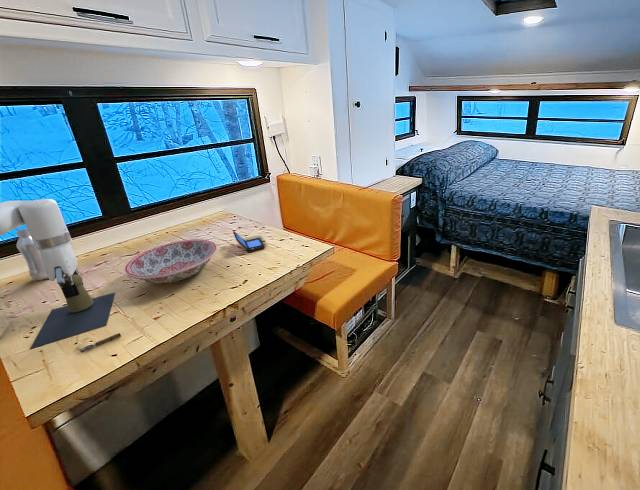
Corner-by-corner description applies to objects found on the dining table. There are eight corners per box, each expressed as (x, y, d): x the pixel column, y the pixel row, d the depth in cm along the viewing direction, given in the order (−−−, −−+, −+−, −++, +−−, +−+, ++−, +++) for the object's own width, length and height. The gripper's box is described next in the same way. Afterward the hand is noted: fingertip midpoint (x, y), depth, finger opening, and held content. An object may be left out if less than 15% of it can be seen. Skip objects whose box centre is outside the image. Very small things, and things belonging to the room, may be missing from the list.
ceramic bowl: (183, 252, 135) (179, 235, 132) (236, 261, 126) (233, 243, 124) (111, 289, 109) (103, 270, 106) (171, 303, 100) (165, 283, 98)
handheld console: (265, 249, 136) (262, 234, 133) (239, 255, 131) (236, 240, 128) (260, 239, 146) (257, 224, 143) (235, 244, 141) (232, 230, 138)
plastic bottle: (46, 273, 120) (24, 226, 114) (62, 273, 120) (41, 226, 113) (27, 282, 114) (3, 234, 107) (44, 282, 114) (21, 234, 107)
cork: (66, 314, 95) (52, 284, 91) (71, 304, 100) (58, 275, 96) (91, 307, 98) (79, 278, 94) (95, 298, 103) (84, 270, 99)
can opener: (121, 335, 87) (120, 331, 87) (120, 339, 85) (119, 336, 85) (78, 350, 82) (77, 346, 82) (77, 355, 80) (75, 352, 80)
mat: (30, 349, 83) (29, 348, 83) (51, 310, 99) (51, 309, 99) (106, 325, 91) (106, 324, 91) (115, 292, 107) (115, 292, 107)
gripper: (44, 233, 95) (65, 283, 102) (24, 255, 82) (50, 310, 88) (76, 228, 99) (95, 275, 106) (62, 247, 86) (85, 301, 92)
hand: (74, 291), depth 97 cm, fingers closed on cork, 5 cm apart
